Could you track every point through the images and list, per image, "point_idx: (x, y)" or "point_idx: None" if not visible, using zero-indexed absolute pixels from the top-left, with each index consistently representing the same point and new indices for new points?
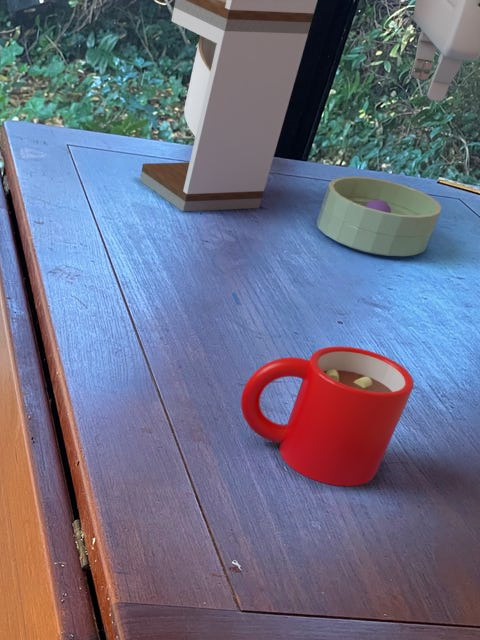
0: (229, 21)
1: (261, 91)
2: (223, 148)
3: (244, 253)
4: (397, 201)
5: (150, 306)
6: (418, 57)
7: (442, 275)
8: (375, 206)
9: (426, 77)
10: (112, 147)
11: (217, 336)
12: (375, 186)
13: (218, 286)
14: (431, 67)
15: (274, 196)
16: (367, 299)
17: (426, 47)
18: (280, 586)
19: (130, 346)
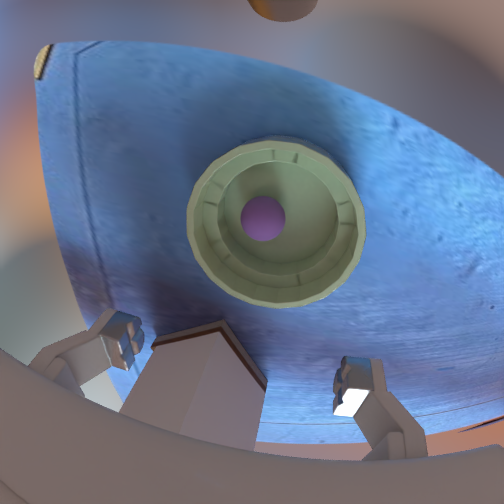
0: None
1: (213, 442)
2: (243, 410)
3: (361, 356)
4: (212, 178)
5: (445, 404)
6: (108, 366)
7: (391, 146)
8: (272, 233)
9: (136, 319)
10: (134, 383)
11: (485, 377)
12: (196, 218)
13: (425, 376)
14: (123, 333)
15: (174, 292)
16: (460, 271)
17: (79, 367)
18: None
19: (480, 406)
